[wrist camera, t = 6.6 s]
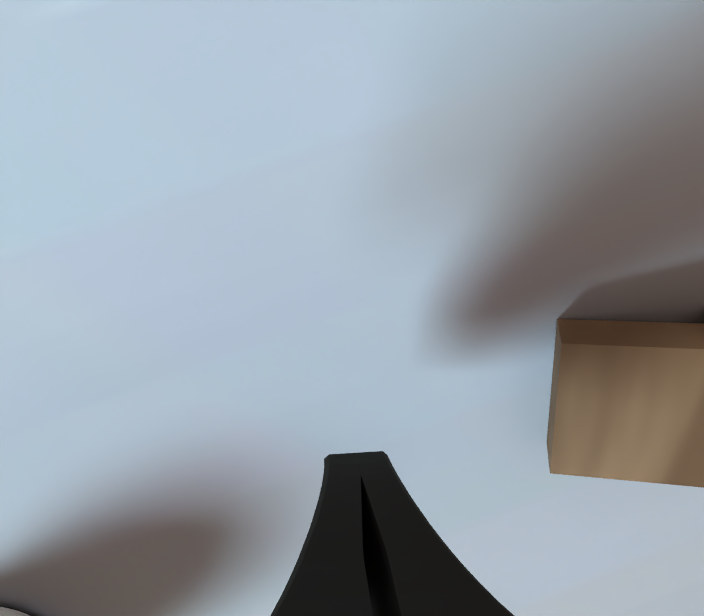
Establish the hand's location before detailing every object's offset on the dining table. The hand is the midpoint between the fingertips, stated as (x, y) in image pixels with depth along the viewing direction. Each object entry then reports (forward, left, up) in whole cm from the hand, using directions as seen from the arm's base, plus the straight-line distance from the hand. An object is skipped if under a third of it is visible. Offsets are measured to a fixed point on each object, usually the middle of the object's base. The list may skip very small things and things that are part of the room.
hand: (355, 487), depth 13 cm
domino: (-4, -4, -3) cm, 7 cm away
